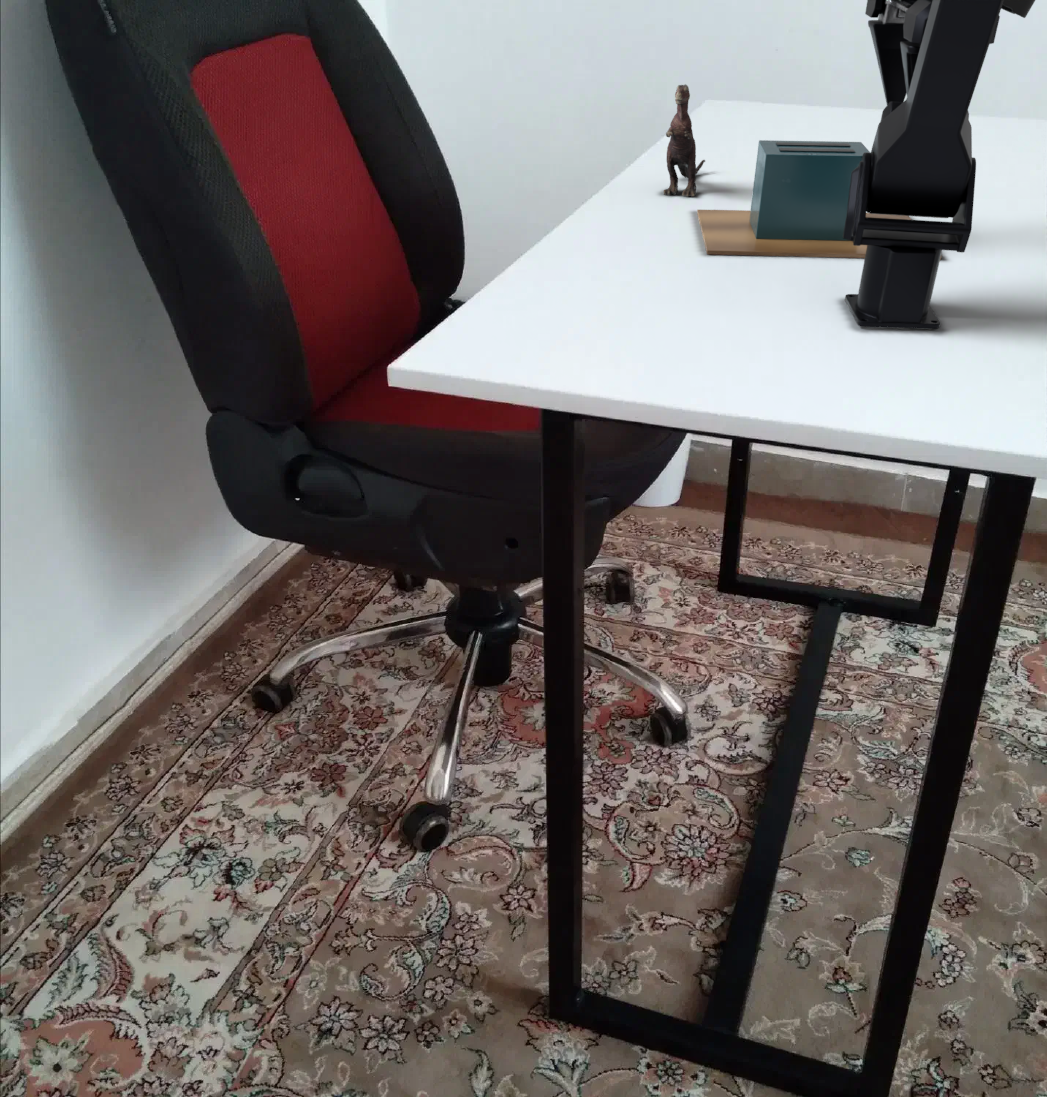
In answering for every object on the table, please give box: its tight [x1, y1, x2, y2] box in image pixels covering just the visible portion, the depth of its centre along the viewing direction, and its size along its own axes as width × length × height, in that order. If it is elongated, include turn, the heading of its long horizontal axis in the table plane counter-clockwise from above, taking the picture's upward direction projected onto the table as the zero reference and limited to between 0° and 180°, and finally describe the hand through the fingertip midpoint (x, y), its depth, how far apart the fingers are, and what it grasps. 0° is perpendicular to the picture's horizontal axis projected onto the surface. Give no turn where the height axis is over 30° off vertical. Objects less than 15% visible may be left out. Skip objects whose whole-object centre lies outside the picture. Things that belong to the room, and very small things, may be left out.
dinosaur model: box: [663, 83, 706, 197], centre depth 117 cm, size 4×12×15 cm
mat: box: [696, 209, 943, 261], centre depth 104 cm, size 14×22×1 cm, turn 86°
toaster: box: [749, 139, 871, 241], centre depth 102 cm, size 11×6×8 cm, turn 86°
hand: (905, 120), depth 90 cm, fingers open, 9 cm apart
